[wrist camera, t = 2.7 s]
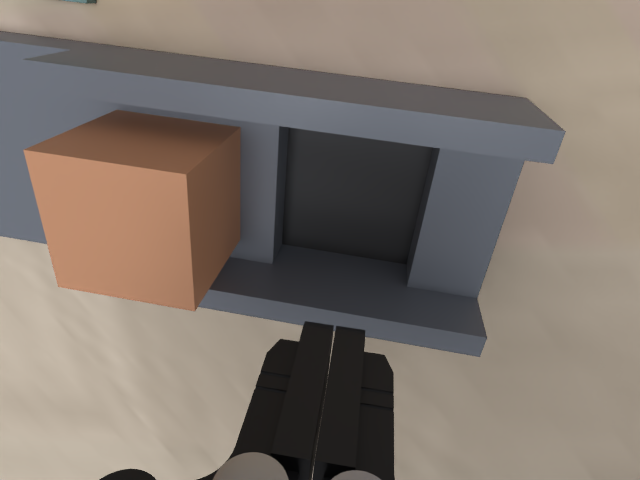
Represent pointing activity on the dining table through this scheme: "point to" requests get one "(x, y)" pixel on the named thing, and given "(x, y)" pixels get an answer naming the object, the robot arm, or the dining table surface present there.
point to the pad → (83, 1)
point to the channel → (307, 178)
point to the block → (139, 205)
